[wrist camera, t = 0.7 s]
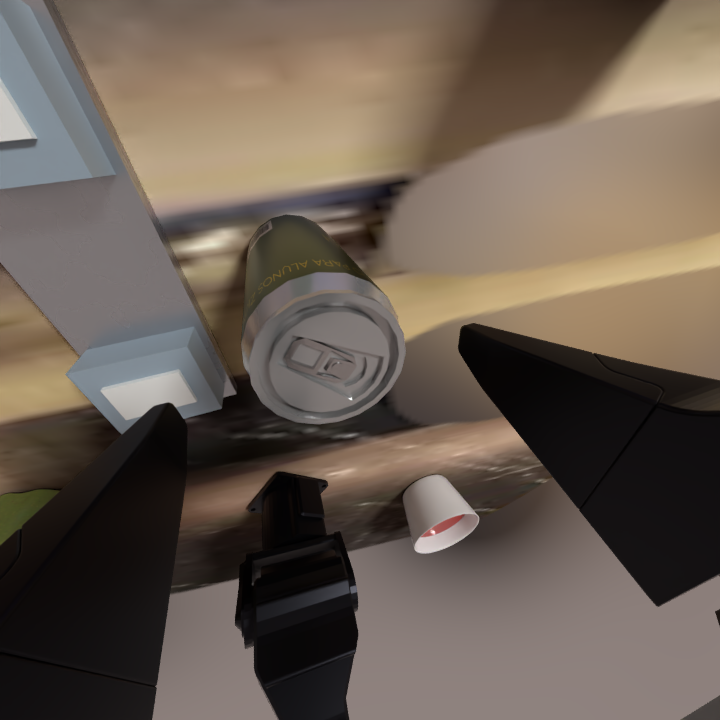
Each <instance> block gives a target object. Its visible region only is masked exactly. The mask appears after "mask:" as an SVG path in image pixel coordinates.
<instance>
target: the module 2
mask: <svg viewBox="0 0 720 720" xmlns="http://www.w3.org/2000/svg"><path fill="white" fill-rule="evenodd" d="M66 376H67V377H68V378H69V379H70V380H71V381H72V382H73V383H74V384H75V385H76V386H77V387H78V388H79V389H80V391H81V392H82V393H83V394H84V395H85V396H86V397H87V398H88V399H89V400H90V401H91V402H92V403H93V404H94V406H95V407H96V408H97V409H98V410H99V411H100V412H101V413H102V414H103V415H104V416H105V417H106V418H107V419H108V420H109V422H110V423H111V424H112V425H113V426H114V427H115V428H116V429H117V430H118V431H119V432H120V433H121V434H123V433H124V432H125V431H126V430H128V429H129V428H130V427H131V426H132V425H133V424H134V423H135V422H136V421H137V420H139V419H140V418H141V417H142V416H143V415H144V414H145V413H146V412H147V411H148V410H150V409H151V408H152V407H153V406H155V405H159V404H163V403H167V402H170V403H172V404H173V405H174V406H175V407H176V409H177V410H178V411H179V413H180V414H181V416H182V417H183V419H185V418H189V417H193V416H196V415H200V414H204V413H207V412H211V411H215V410H219V409H222V403H223V395H224V388H225V386H224V384H223V382H222V380H221V378H220V376H219V374H218V372H217V370H216V368H215V366H214V364H213V362H212V360H211V358H210V356H209V354H208V352H207V351H206V349H205V347H204V345H203V343H202V341H201V339H200V337H199V335H198V333H197V331H196V329H195V327H190V328H185V329H181V330H176V331H172V332H167V333H162V334H158V335H153V336H149V337H144V338H139V339H135V340H130V341H126V342H121V343H116V344H112V345H107V346H103V347H98V348H93V349H89V350H86V351H85V352H84V353H83V354H82V356H81V357H80V358H79V359H78V360H77V361H76V363H75V364H74V365H73V366H72V367H71V368H70V369H69V371H68V372H67V373H66Z"/></svg>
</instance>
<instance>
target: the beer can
mask: <svg viewBox="0 0 720 720" xmlns="http://www.w3.org/2000/svg"><path fill="white" fill-rule="evenodd" d="M241 347H242V355H243V363H244V367H245V369H246V371H247V373H248V374H249V376H250V378H251V385H252V387H253V388H254V390H255V392H256V394H257V395H258V397H259V399H260V401H261V402H262V403H263V404H264V405H266V406H267V407H268V408H269V409H271V410H272V411H273V412H274V413H276V414H277V415H279V416H282V417H284V418H287V419H290V420H292V421H295V422H299V423H310V424H324V423H331V422H338V421H342V420H344V419H347V418H350V417H353V416H355V415H358V414H360V413H362V412H363V411H365V410H366V409H368V408H370V407H371V406H373V405H374V404H376V403H377V402H378V401H379V400H380V399H381V398H382V397H383V396H384V395H385V394H386V393H387V392H388V391H389V390H390V389H391V388H392V386H393V384H394V383H395V381H396V379H397V378H398V376H399V374H400V373H401V370H402V366H403V362H404V357H405V353H406V351H405V342H404V333H403V331H402V330H401V328H400V326H399V323H398V316H397V314H396V312H395V310H394V308H393V307H392V305H391V303H390V301H389V299H388V297H387V296H386V295H385V294H384V293H383V292H382V291H381V290H380V289H379V288H378V287H377V286H376V285H375V283H374V282H373V281H372V280H371V279H370V278H369V277H368V276H367V275H366V274H365V273H364V272H363V271H362V270H361V269H360V268H359V267H358V265H357V264H356V263H355V262H354V261H353V260H352V259H351V258H350V257H349V256H348V255H347V254H346V253H345V252H344V251H343V250H342V249H341V247H340V246H339V245H338V244H337V243H336V242H335V241H334V240H333V239H332V238H331V237H330V236H329V235H328V234H327V233H326V232H325V231H324V230H323V229H322V228H321V227H320V226H319V225H317V224H316V223H315V222H313V221H311V220H309V219H307V218H304V217H302V216H295V215H283V216H279V217H275V218H272V219H270V220H269V221H267V222H266V223H264V224H263V225H261V226H260V227H259V228H258V229H257V231H256V232H255V234H254V235H253V237H252V238H251V240H250V245H249V249H248V253H247V264H246V279H245V293H244V308H243V322H242V337H241Z"/></svg>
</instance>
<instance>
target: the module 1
mask: <svg viewBox="0 0 720 720" xmlns="http://www.w3.org/2000/svg"><path fill="white" fill-rule="evenodd" d="M109 175H116V174H115V172H114V170H113V168H112V166H111V164H110V162H109V160H108V158H107V156H106V154H105V152H104V150H103V148H102V146H101V145H100V143H99V141H98V139H97V137H96V135H95V133H94V131H93V129H92V127H91V125H90V123H89V121H88V119H87V117H86V115H85V113H84V111H83V110H82V108H81V106H80V104H79V102H78V100H77V98H76V96H75V94H74V92H73V90H72V88H71V86H70V84H69V82H68V80H67V78H66V76H65V75H64V73H63V71H62V69H61V67H60V65H59V63H58V61H57V59H56V57H55V55H54V53H53V51H52V49H51V47H50V45H49V43H48V41H47V40H46V38H45V36H44V34H43V32H42V30H41V28H40V26H39V24H38V22H37V20H36V18H35V16H34V14H33V12H32V10H31V8H30V6H28V5H27V4H25V3H24V2H22V1H21V0H0V189H6V188H14V187H22V186H30V185H38V184H46V183H54V182H62V181H70V180H78V179H87V178H94V177H102V176H109Z"/></svg>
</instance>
